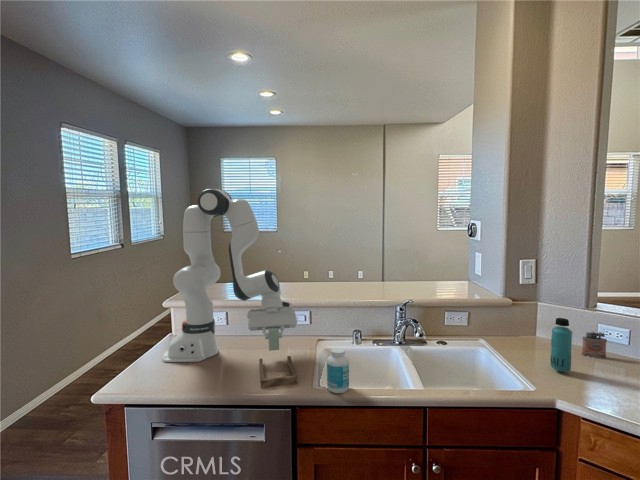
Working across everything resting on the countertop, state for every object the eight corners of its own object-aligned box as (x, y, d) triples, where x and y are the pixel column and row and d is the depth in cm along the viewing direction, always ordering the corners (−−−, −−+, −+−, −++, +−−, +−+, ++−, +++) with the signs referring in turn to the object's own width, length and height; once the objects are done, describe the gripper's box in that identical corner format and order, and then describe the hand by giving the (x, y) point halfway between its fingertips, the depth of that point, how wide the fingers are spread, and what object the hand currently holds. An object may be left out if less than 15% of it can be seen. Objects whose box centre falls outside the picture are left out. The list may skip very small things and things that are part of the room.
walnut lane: (261, 387, 123) (260, 380, 123) (259, 364, 142) (259, 358, 142) (296, 383, 126) (296, 376, 125) (290, 361, 144) (290, 355, 144)
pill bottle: (347, 395, 117) (347, 355, 116) (325, 393, 119) (324, 353, 118) (350, 384, 124) (349, 346, 123) (329, 382, 126) (328, 345, 125)
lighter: (583, 356, 145) (584, 332, 145) (580, 353, 148) (581, 329, 148) (607, 359, 142) (608, 334, 142) (604, 356, 145) (605, 332, 145)
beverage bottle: (567, 369, 134) (569, 316, 132) (573, 377, 127) (576, 322, 126) (547, 367, 136) (549, 315, 134) (552, 374, 130) (554, 320, 128)
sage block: (269, 350, 144) (268, 331, 144) (268, 347, 148) (268, 328, 148) (279, 349, 145) (278, 330, 144) (278, 346, 149) (277, 327, 148)
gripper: (247, 306, 150) (247, 336, 141) (295, 303, 154) (298, 332, 145) (247, 313, 155) (247, 343, 146) (294, 310, 159) (297, 339, 150)
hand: (273, 338), depth 146 cm, fingers closed on sage block, 4 cm apart
